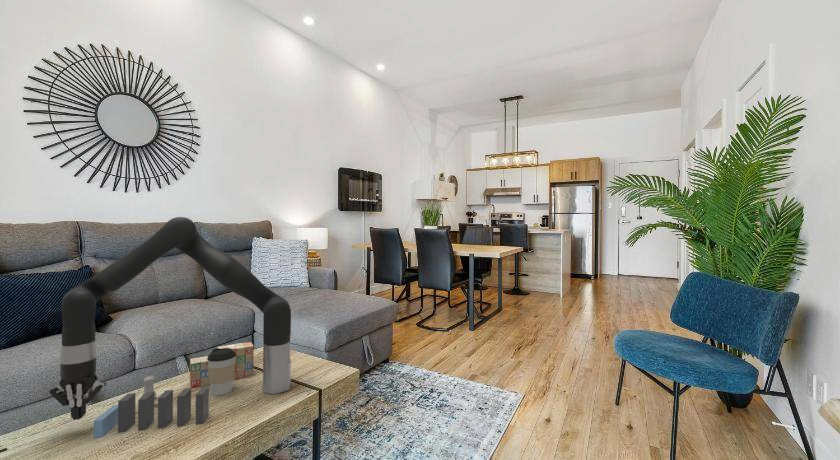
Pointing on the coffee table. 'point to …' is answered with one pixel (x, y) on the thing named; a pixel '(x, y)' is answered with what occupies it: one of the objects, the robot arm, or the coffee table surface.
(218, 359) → the coffee cup
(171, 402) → the domino
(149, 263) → the robot arm
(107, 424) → the tile
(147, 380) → the rook chess piece
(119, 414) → the domino
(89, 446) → the coffee table surface
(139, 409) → the domino
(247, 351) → the stack of blocks
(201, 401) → the domino
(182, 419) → the domino
